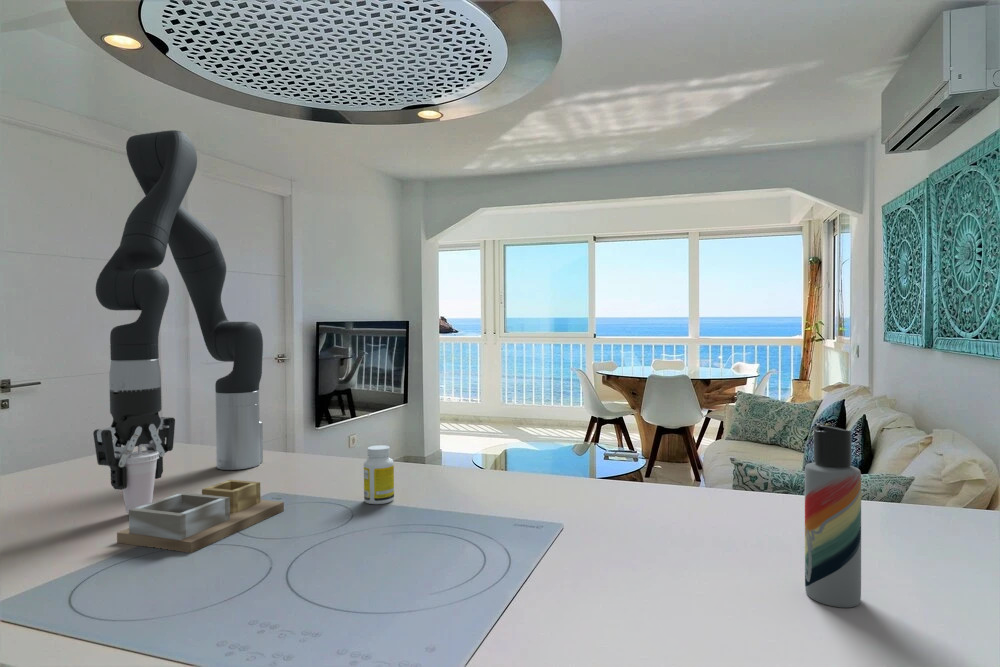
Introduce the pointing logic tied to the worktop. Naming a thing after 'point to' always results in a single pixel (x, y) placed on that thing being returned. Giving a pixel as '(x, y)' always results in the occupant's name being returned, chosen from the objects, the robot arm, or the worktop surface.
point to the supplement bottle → (378, 476)
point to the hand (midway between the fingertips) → (137, 483)
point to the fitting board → (198, 517)
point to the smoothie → (140, 478)
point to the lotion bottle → (833, 521)
